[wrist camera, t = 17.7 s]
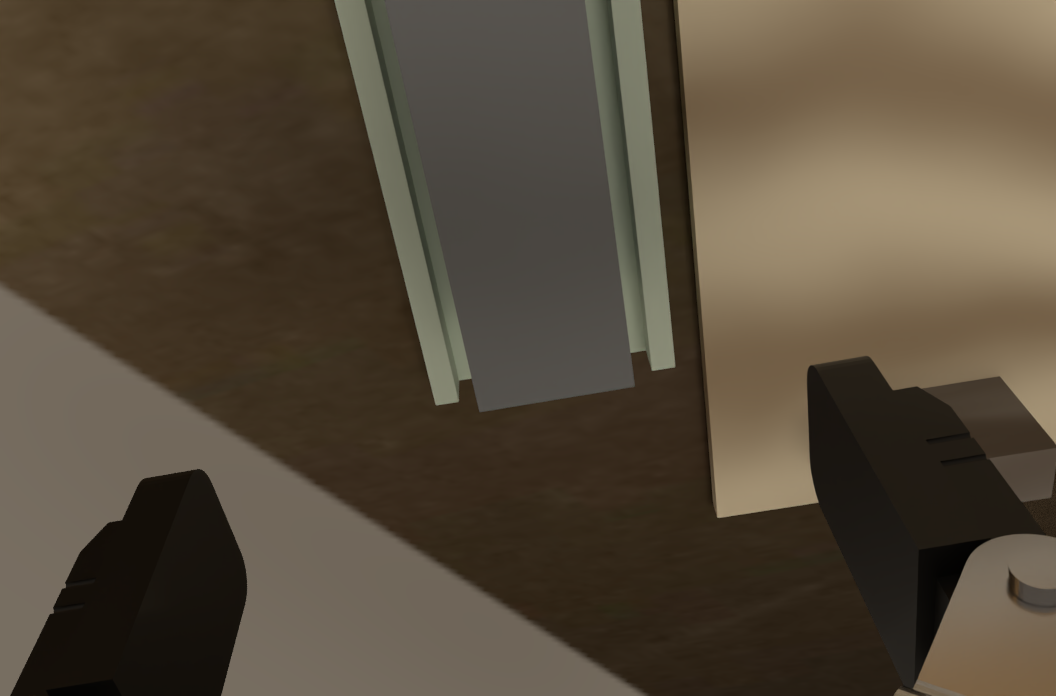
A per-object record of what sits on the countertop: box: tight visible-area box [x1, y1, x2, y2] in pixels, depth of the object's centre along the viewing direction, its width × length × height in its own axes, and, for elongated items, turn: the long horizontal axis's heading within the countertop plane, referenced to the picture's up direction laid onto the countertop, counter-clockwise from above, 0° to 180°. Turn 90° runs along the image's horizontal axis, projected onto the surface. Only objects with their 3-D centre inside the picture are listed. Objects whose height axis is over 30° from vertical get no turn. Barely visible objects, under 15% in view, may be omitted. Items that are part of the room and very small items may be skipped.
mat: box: [334, 0, 675, 405], centre depth 23 cm, size 13×6×1 cm, turn 9°
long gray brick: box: [384, 0, 635, 412], centre depth 21 cm, size 10×3×4 cm, turn 9°
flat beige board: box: [673, 0, 1056, 518], centre depth 22 cm, size 23×11×4 cm, turn 9°
